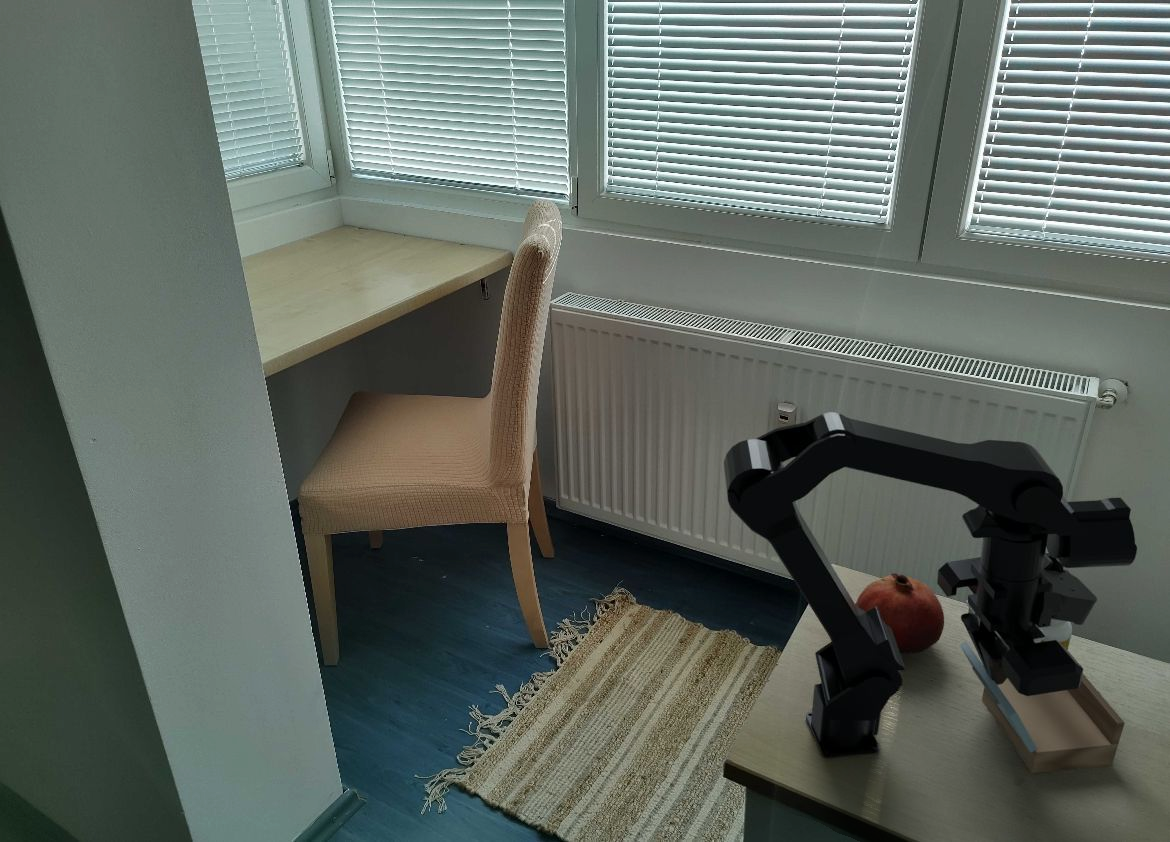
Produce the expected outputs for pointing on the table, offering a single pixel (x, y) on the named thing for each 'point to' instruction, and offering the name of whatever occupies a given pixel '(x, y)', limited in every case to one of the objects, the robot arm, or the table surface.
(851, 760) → the table surface
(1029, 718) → the brown platform with wall
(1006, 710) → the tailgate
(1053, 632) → the supplement bottle
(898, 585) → the fruit
